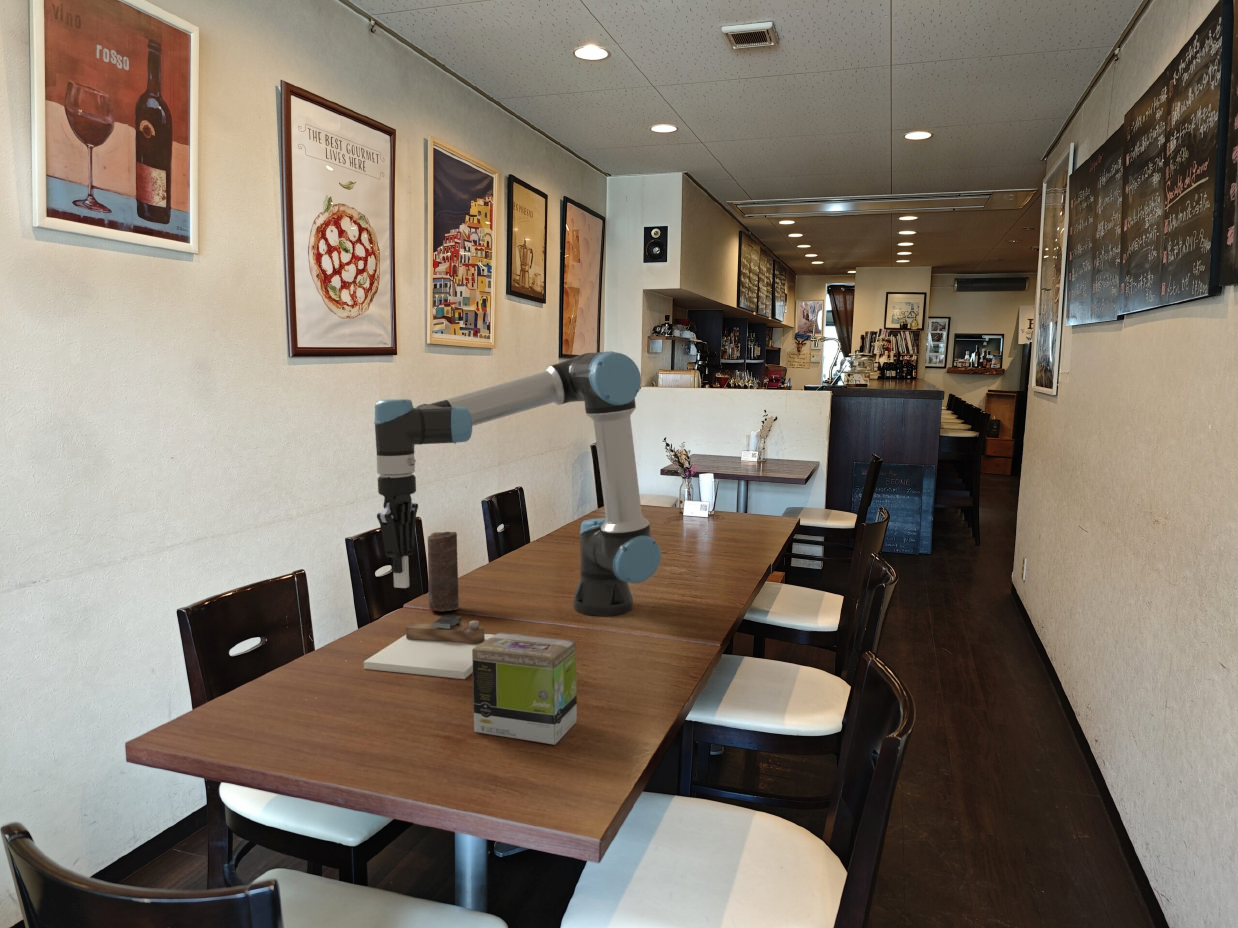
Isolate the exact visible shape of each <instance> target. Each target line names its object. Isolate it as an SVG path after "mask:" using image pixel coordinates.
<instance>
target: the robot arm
mask: <svg viewBox="0 0 1238 928" xmlns="http://www.w3.org/2000/svg"><path fill="white" fill-rule="evenodd" d="M641 376H642V375H641V372H640V369H639V367H638V365H637V364H636V362H635V361H634V360H633V359H632V358H630V357H629V356H628V355H626V354H624V353H622V352H615V351H612V350H611V351H603V352H585V353H582V354H580V355H577V356H574V357H572V358H569V359H567V360H564V361H561V362H559V363H555V364H551V365H549V366H546V368H545V370H544V371H542V372H539V373H536V374H531V375H529V376H525V377H521V378H518V379H514V380H511V381H508V382H503V383H500V384H496V385H492V386H489V387H485V388H481V389H478V390H474V391H471V392H467V393H463V394H461V395H457V396H453V397H450V398H446V399H444V400H439V401H436V402H432V403H423V404H420V405H417V406H415V407H414V405H413V401H412V400H411V399H409V398H408V399H407V398H405V399H404V398H403V399H402V398H397V399H393V398H392V399H380V400H378V401H377V402H376V403H375V405H374V421H373V423H374V432H375V433H374V435H375V445H376V446H375V447H376V448H375V449H376V450H375V451H376V473H377V474H378V475H379V476H378V477H377V491H378V495H381V496H383V497H384V499H383V505H382V506H383V510H382V512H377V514H376V518H377V520H378V523H379V526H380V532H381V535H382V543H383V546H384V552H385V555H386V557H387V558H392V569H393V571H392V573H393V587H394V588H399V589H407V588H409V587H410V571H409V556H412V555H413V554H414V551H413V550H414V549H415V536H416V523H417V521H416V520H417V514H418V513H417V512H418V510H419V504H418V503H413V502H412V499H413V498H412V496H411V495H413V494H415V493H416V491H417V481H416V476H415V474H414V473H415V472H416V461H417V460H416V459H415V445H418V446H419V445H432V444H434V445H435V444H436V445H437V444H457V443H458V444H459V443H466V442H468V441H469V440H470V439H471V437H472V434H473V427H474V426H477V425H481V424H485V423H488V422H492V421H495V420H498V419H502V418H504V417H508V416H512V415H514V414H519V413H522V412H525V411H526V412H527V411H528V410H532V409H536V408H539V407H542V406H545V405H549V404H553V403H554V404H556V405H557V406H562V405H564V404H567V403H568V404H569V403H573V402H584V410H585V415H586V416H587V417H588V418H590V419H591V420H592V421H593V427H594V436H595V442H596V443H595V444H596V450H597V458H598V469H599V472H600V473H599V475H600V482H601V490H602V497H603V507H604V513H605V517H602V518H598V517H597V518H591V519H590V518H589V519H585V520H583V521H582V522H581V525H580V531H579V537H580V538H579V539H580V540H579V541H580V543H579V545H580V549H579V550H580V555H579V556H580V578H579V581H578V584H577V588H576V591H575V594H574V597H573V608H574V610H575V611H576V612H578V613H581V614H584V615H590V616H600V617H601V616H602V617H603V616H605V617H606V616H607V617H608V616H616V615H622V614H626V613H628V612H630V611H632V610H633V608H634V600H633V599H634V598H633V595H632V592H631V589H630V585H629V583H630V584H640V583H643V582H646V581H647V580H649V579H650V578H652V577H653V576H654V573H656V571H657V570H658V569H659V567H660V564H661V560H662V550H661V547H660V545H659V544H658V542H657V541H656V539H654V537H652V534H651V526H650V525H651V524H650V521H649V520H648V519H647V518H646V517H644V515H643V513H642V505H641V497H640V489H639V487H640V486H639V481H638V480H639V478H638V470H637V463H636V454H635V445H634V436H633V430H632V421H631V415H632V414H633V413H634V411H635V410H636V408H637V406H636V404H637V403H636V397H637V395H638V393H639V392H640V390H641V384H642V377H641Z"/></svg>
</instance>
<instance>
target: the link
mask: <svg viewBox="0 0 1238 928" xmlns="http://www.w3.org/2000/svg"><path fill="white" fill-rule="evenodd" d="M468 624H469V626H465V625H464V626H463V625H461V626H453V627H452V628H450V629H447V628H436V627H433V623H415V622H411V623H410V624H408V625H407V626H406V627H405V635H406V639H422V640H439V641H455V642H466V643H470V644H476V643H481V642H483V641H484V640H485V635H484V634H485V627H483V626H481V625H479V624H480V623H479V620H471V621H469V623H468Z"/></svg>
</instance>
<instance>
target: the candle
mask: <svg viewBox="0 0 1238 928" xmlns="http://www.w3.org/2000/svg"><path fill="white" fill-rule="evenodd" d="M427 565H428V566H427V569H428V589H427V590H428V608H429V610H430V611H434V612H439V613H440V612H449V611H456V610H459V603H460V602H459V570H458V533H457V532H456V531H443V532H441V531H439V532H437V531H435V532H432V533H431V534H430V535H428V536H427Z"/></svg>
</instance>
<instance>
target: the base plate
mask: <svg viewBox="0 0 1238 928" xmlns="http://www.w3.org/2000/svg"><path fill="white" fill-rule="evenodd" d="M484 635H485V640H484V641H486V640H488V639H489V638H491V637H492V636H494V635H495V634H490V633H489V634H488V633H484ZM484 641H483V642H484ZM483 642H481V643H483ZM481 643H476V644H470V643H466V642H455V641H439V640H422V639H406V634H405V635H403V636H402V637H399V638H398V639H397V640H395V641H394V642H392V643H390V644H389V645H387V646H386V647H383V649H381V650H380V651H378V652H376V653H375V654H373V655H372V656H370V657H369V658H367V659H365V660H364V661H363V669H364V670H372V671H381V672H391V673H393V672H394V673H401V674H410V675H421V676H429V677H442V678H450V679H460V680H466V679H467V678H468V677H469V676H470V675H471V674H473V660H472V649H473V648H475V647H477V646H478V645H480V644H481Z"/></svg>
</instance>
